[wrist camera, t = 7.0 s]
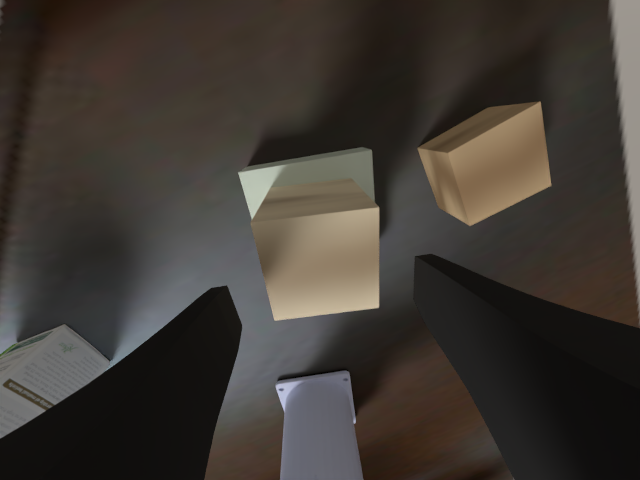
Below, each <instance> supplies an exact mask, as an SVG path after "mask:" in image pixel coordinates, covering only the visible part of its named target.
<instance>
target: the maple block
mask: <svg viewBox="0 0 640 480" xmlns="http://www.w3.org/2000/svg"><path fill="white" fill-rule="evenodd" d="M251 227H252V231H253V235H254V239H255V243H256V247H257V251H258V255H259V259H260V264H261V268H262V272H263V276H264V280H265V284H266V288H267V292H268V296H269V300H270V304H271V308H272V312H273V316H274V320H275V321H276V320H284V319H292V318H301V317H309V316H317V315H325V314H333V313H341V312H349V311H357V310H365V309H373V308H379V207H378V205H377V204H376V203H375V202H374V201H373V200H372V199H371V198H370V197H369V196H368V195H367V194H366V193H365V192H364V191H363V190H362V189H361V188H360V187H359V186H358V184H357V183H356V182H355V181H354V180H353V179H352V178H348V179H339V180H331V181H322V182H314V183H306V184H297V185H289V186H280V187H272V188H270V189H269V191H268V193H267V195H266V196H265V198H264V200H263V202H262V203H261V205H260V207H259V209H258V210H257V212H256V214H255V216H254V217H253V219H252V221H251Z"/></svg>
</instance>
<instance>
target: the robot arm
mask: <svg viewBox="0 0 640 480" xmlns="http://www.w3.org/2000/svg"><path fill="white" fill-rule="evenodd" d="M413 299H414V302H415V304H416V306H417V308H418V310H419V312H420V314H421V316H422V318H423V320H424V322H425V324H426V326H427V327H428V329H429V330H430V332H431V333H432V335H433V337H434V338H435V340H436V341H437V343H438V344H439V346H440V347H441V349H442V350H443V352H444V353H445V355H446V357H447V358H448V360H449V361H450V363H451V364H452V366H453V367H454V369H455V370H456V372H457V373H458V375H459V376H460V378H461V380H462V381H463V383H464V385H465V386H466V388H467V390H468V391H469V393H470V395H471V396H472V398H473V400H474V402H475V404H476V406H477V408H478V410H479V411H480V413H481V415H482V417H483V419H484V421H485V423H486V425H487V426H488V428H489V430H490V432H491V434H492V436H493V438H494V440H495V442H496V444H497V446H498V448H499V450H500V452H501V454H502V456H503V458H504V460H505V462H506V464H507V466H508V468H509V470H510V472H511V474H512V476H513V478H514V480H640V328H636V327H633V326H629V325H625V324H622V323H618V322H614V321H611V320H607V319H603V318H600V317H597V316H593V315H590V314H586V313H583V312H580V311H576V310H573V309H570V308H567V307H564V306H561V305H558V304H555V303H552V302H549V301H546V300H543V299H540V298H537V297H534V296H532V295H529V294H526V293H524V292H521V291H519V290H516V289H513V288H511V287H508V286H506V285H503V284H501V283H498V282H496V281H493V280H491V279H489V278H486V277H484V276H482V275H479V274H477V273H475V272H472V271H470V270H468V269H466V268H463V267H461V266H459V265H457V264H454V263H452V262H450V261H448V260H445V259H443V258H441V257H438V256H435V255H433V254H427V255H421V256H415V268H414V298H413ZM241 331H242V324H241V321H240V319H239V316H238V313H237V311H236V308H235V305H234V303H233V300H232V297H231V295H230V292H229V289H228V287H227V286H221V287H215V288H211V289H209V290H208V291H206V292H205V293H204V294H203V295H201V296H200V297H199V298H198V299H196V300H195V301H194V302H193V303H192V304H190V305H189V306H188V307H187V308H186V309H185V310H183V311H182V312H181V313H180V314H179V315H177V316H176V317H175V318H174V319H173V320H171V321H170V322H169V323H168V324H167V325H165V326H164V327H163V328H162V329H161V330H159V331H158V332H157V333H156V334H154V335H153V336H152V337H150V338H149V339H148V340H147V341H145V342H144V343H143V344H142V345H140V346H139V347H138V348H137V349H135V350H134V351H133V352H131V353H130V354H129V355H127V356H126V357H125V358H123V359H122V360H121V361H119V362H118V363H117V364H115V365H114V366H113V367H111V368H110V369H108V370H107V371H105V372H104V373H103V374H101V375H100V376H98V377H97V378H95V379H94V380H92V381H91V382H90V383H88V384H87V385H85V386H84V387H82V388H81V389H79V390H78V391H76V392H74V393H73V394H71V395H70V396H68V397H67V398H65V399H63V400H62V401H60V402H59V403H57V404H56V405H54V406H52V407H51V408H49V409H48V410H46V411H45V412H43V413H41V414H40V415H38V416H37V417H35V418H34V419H32V420H30V421H29V422H27V423H26V424H24V425H22V426H21V427H19V428H17V429H16V430H14V431H12V432H10V433H9V434H7V435H5V436H4V437H2V438H0V480H204V478H205V472H206V467H207V463H208V458H209V453H210V449H211V444H212V439H213V435H214V431H215V427H216V423H217V419H218V416H219V413H220V409H221V406H222V403H223V400H224V396H225V393H226V390H227V387H228V383H229V380H230V377H231V374H232V370H233V367H234V363H235V360H236V357H237V353H238V349H239V343H240V337H241ZM276 389H277V392H278V395H279V398H280V401H281V404H282V406H283V409H284V412H285V415H284V430H283V445H282V461H281V476H280V480H363V475H362V469H361V464H360V458H359V452H358V446H357V440H356V434H355V428H354V423H355V422H356V418H355V410H354V403H353V395H352V388H351V380H350V374H349V372H348V371H339V372H332V373H326V374H319V375H313V376H306V377H300V378H293V379H287V380H280V381H277V382H276Z"/></svg>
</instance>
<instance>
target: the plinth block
mask: <svg viewBox="0 0 640 480" xmlns="http://www.w3.org/2000/svg"><path fill="white" fill-rule="evenodd" d="M238 173H239V177H240V180H241V184H242V187H243V190H244V194H245V197H246V201H247V204H248V207H249V211H250V214H251V218H252V219H253V217H254V216H255V214H256V212H257V210H258V209H259V207H260V205H261V203H262V202H263V200H264V198H265V196H266V195H267V193H268V191H269V189H270V188H272V187H280V186H289V185H297V184H306V183H314V182H322V181H331V180H339V179H348V178H352V179H353V180H354V181H355V182H356V183H357V184H358V186H359V187H360V188H361V189H362V190H363V191H364V192H365V193H366V194H367V195H368V196H369V197H370V198H371V199H372V200H373V201H374V202H375V196H374V179H373V161H372V150H371V149H367V148H364V147H360V148H354V149H348V150H342V151H336V152H330V153H324V154H318V155H312V156H307V157H301V158H295V159H289V160H283V161H277V162H271V163H265V164H259V165H253V166H247V167H246V168H244V169H243V170H241V171H240V172H238Z"/></svg>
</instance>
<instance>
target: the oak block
mask: <svg viewBox="0 0 640 480" xmlns="http://www.w3.org/2000/svg"><path fill="white" fill-rule="evenodd" d="M417 149H418V151H419V154H420V157H421V160H422V163H423V165H424V168H425V171H426V174H427V176H428V179H429V182H430V185H431V188H432V190H433V193H434V196H435V199H436V201H437V204H438V207H439V208H440V209H442V210H444V211H445V212H447V213H449V214H451V215H452V216H454V217H456V218H457V219H459V220H461V221H463V222H464V223H466V224H468V225H469V226H471V225H473V224H475V223H477V222H479V221H481V220H483V219H485V218H487V217H489V216H491V215H493V214H495V213H497V212H499V211H501V210H503V209H505V208H507V207H509V206H511V205H513V204H515V203H517V202H519V201H521V200H523V199H525V198H527V197H529V196H531V195H533V194H535V193H537V192H539V191H541V190H543V189H546V188H548V187H550V186H551V179H550V171H549V163H548V155H547V148H546V140H545V132H544V124H543V116H542V108H541V101H540V102H531V103H522V104H514V105H505V106H496V107H488V108H486V109H484V110H483V111H481V112H479V113H477V114H476V115H474V116H472V117H470V118H469V119H467V120H465V121H463V122H462V123H460V124H458V125H456V126H455V127H453V128H451V129H449V130H448V131H446V132H444V133H442V134H441V135H439V136H437V137H435V138H434V139H432V140H430V141H428V142H427V143H425V144H423V145H421V146H420V147H418V148H417Z"/></svg>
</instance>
